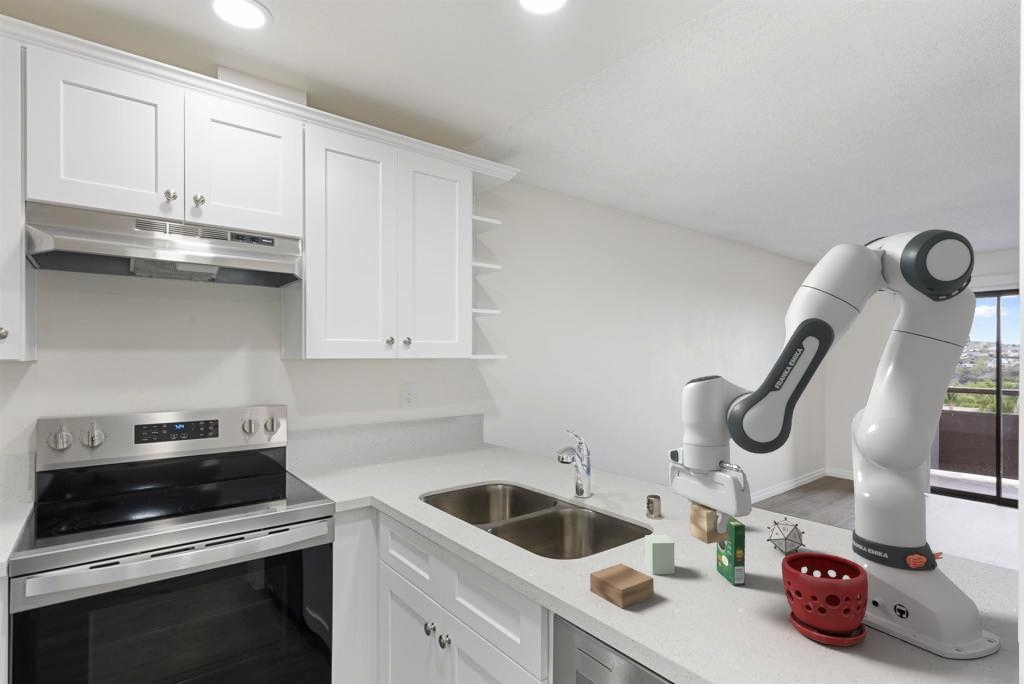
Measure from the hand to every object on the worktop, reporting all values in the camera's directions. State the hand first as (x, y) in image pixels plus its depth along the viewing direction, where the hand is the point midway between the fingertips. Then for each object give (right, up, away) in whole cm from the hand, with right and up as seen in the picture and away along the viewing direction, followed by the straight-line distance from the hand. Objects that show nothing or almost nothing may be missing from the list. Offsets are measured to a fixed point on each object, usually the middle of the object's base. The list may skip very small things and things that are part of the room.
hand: (708, 527), depth 104 cm
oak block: (0, -2, 0) cm, 2 cm away
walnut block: (-17, -15, +3) cm, 23 cm away
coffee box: (+9, -15, +10) cm, 20 cm away
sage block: (-6, -15, +15) cm, 22 cm away
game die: (+28, -15, +25) cm, 40 cm away
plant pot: (+16, -15, -11) cm, 25 cm away
